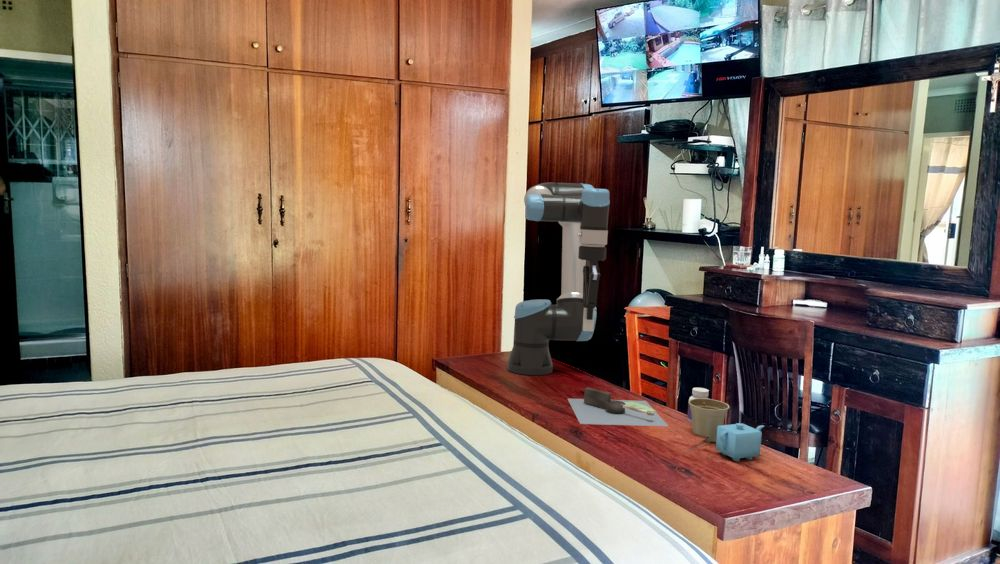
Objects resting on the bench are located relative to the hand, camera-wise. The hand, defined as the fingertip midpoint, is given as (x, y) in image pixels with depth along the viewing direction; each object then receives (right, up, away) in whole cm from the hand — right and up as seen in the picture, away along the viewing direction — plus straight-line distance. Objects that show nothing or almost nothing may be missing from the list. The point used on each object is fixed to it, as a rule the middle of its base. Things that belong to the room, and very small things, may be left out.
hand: (587, 330), depth 187 cm
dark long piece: (+6, -20, -11) cm, 24 cm away
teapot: (+30, -26, -35) cm, 53 cm away
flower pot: (+25, -25, -24) cm, 43 cm away
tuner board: (+6, -22, -10) cm, 25 cm away
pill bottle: (+26, -24, -15) cm, 38 cm away
